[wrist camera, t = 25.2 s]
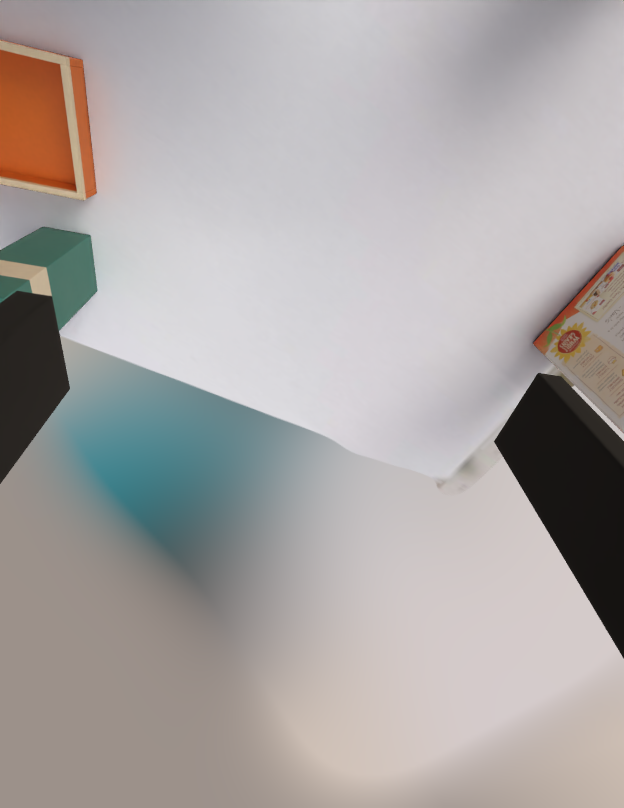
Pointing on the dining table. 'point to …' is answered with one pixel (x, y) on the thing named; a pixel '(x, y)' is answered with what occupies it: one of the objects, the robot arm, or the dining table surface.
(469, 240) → the dining table surface
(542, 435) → the robot arm
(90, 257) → the teal packet
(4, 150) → the orange tray
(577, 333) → the cracker box
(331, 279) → the dining table surface
